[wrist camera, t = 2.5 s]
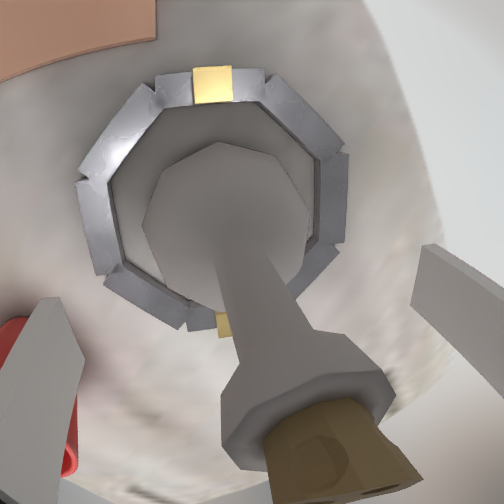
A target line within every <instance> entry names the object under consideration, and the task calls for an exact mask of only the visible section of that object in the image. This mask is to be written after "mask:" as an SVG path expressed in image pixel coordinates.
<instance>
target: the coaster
mask: <svg viewBox="0 0 504 504" xmlns="http://www.w3.org/2000/svg"><path fill="white" fill-rule="evenodd" d="M152 40H156V0H0V83H1V82H3V81H5V80H8V79H10V78H12V77H15V76H17V75H20V74H23V73H25V72H28V71H31V70H33V69H36V68H39V67H42V66H45V65H48V64H51V63H54V62H57V61H61V60H64V59H67V58H71V57H75V56H78V55H82V54H86V53H90V52H94V51H98V50H103V49H107V48H112V47H117V46H122V45H127V44H133V43H139V42H145V41H152Z"/></svg>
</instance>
